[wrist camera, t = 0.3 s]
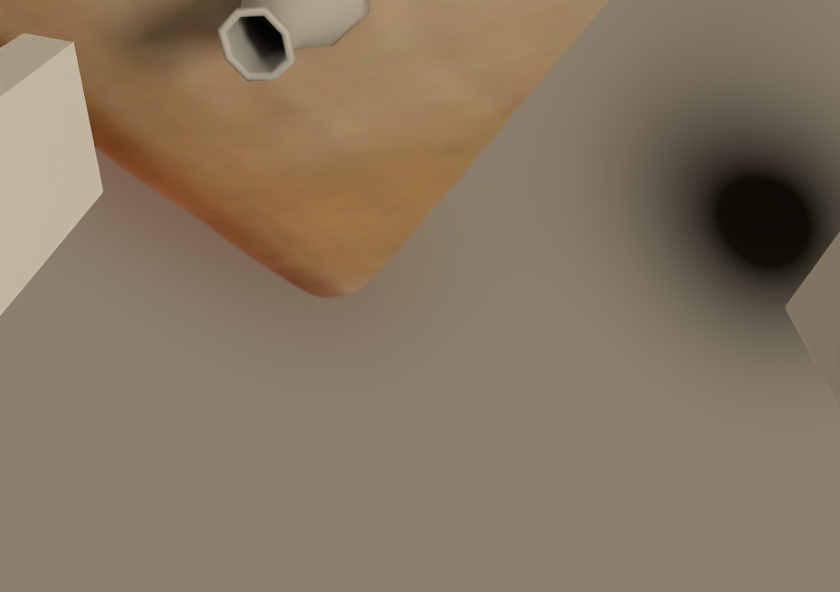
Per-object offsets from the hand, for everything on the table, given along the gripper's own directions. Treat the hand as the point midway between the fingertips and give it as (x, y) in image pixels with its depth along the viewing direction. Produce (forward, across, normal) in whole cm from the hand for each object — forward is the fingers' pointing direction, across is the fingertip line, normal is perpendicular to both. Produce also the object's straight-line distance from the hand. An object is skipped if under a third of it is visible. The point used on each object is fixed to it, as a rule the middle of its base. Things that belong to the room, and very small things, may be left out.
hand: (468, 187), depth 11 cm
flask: (+28, -8, -5) cm, 30 cm away
